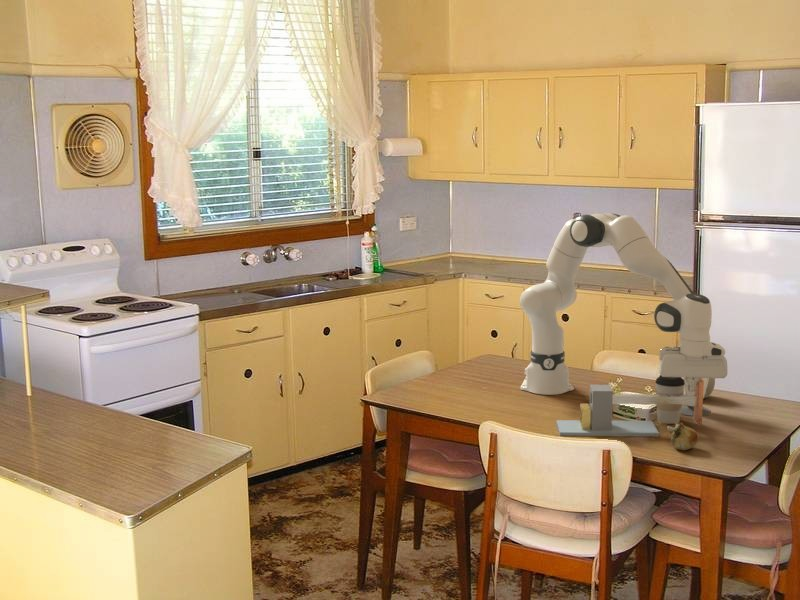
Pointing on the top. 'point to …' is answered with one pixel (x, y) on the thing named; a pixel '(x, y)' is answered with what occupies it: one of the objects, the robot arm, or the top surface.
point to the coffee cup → (669, 386)
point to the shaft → (666, 399)
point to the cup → (689, 408)
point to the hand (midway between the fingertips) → (691, 390)
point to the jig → (605, 419)
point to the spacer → (585, 416)
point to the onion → (683, 437)
